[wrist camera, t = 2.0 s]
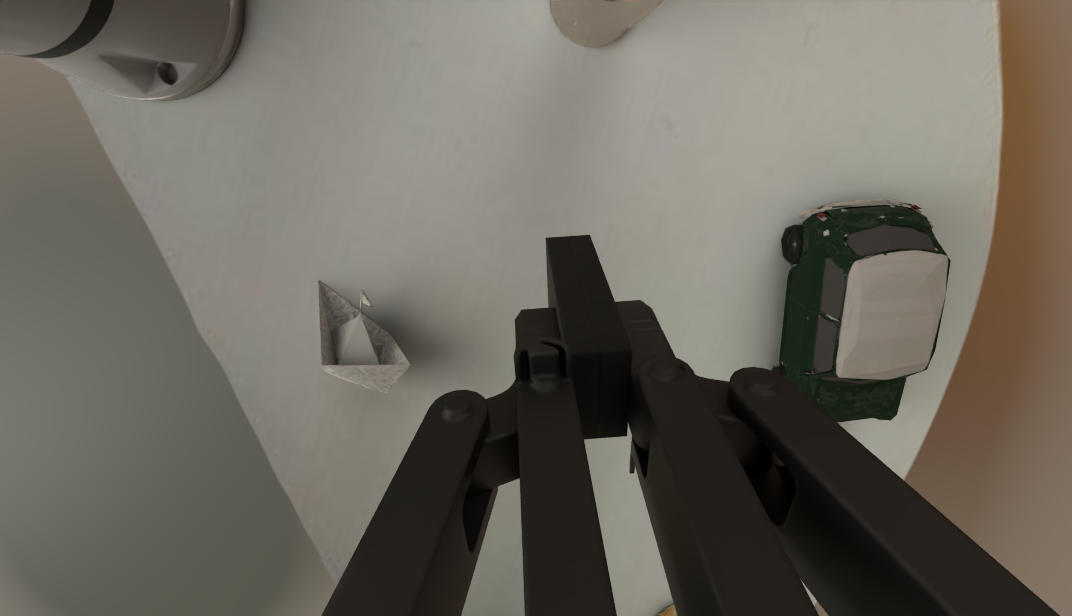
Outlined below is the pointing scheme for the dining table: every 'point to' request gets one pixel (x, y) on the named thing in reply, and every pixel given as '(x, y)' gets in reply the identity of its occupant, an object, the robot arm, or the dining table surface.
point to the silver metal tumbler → (598, 18)
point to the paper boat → (357, 344)
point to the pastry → (669, 611)
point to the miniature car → (861, 305)
